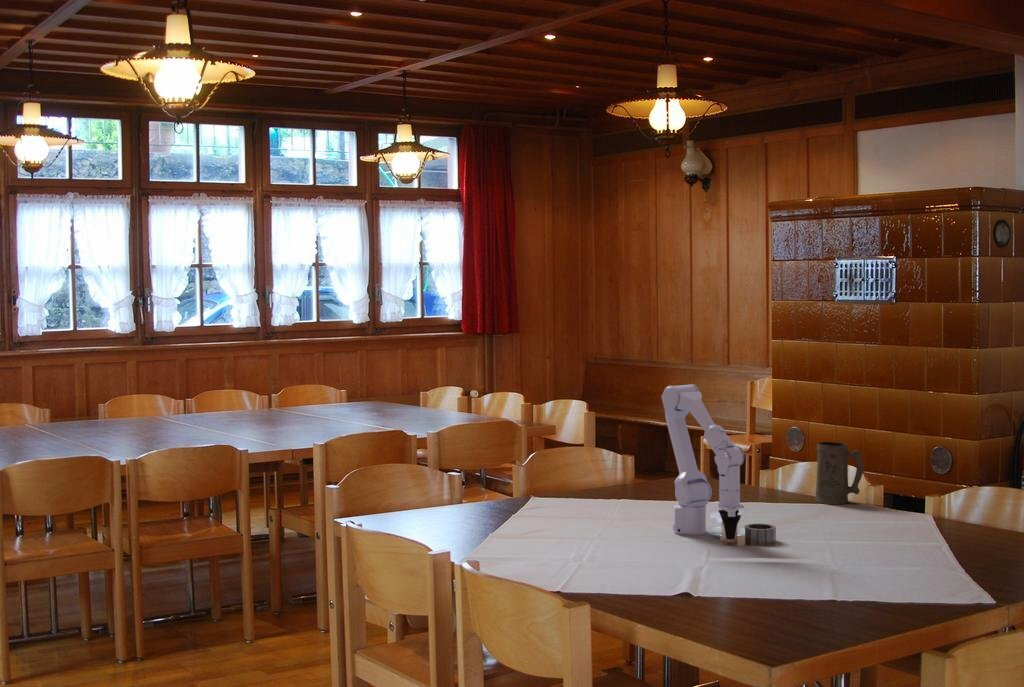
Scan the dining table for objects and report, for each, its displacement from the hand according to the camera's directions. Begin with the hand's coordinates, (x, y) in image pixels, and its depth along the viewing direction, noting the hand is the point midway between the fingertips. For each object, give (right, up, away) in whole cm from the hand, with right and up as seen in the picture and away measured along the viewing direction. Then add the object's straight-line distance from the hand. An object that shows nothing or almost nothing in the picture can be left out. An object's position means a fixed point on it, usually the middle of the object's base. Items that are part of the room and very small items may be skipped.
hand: (729, 537), depth 328 cm
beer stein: (+48, +1, +60) cm, 77 cm away
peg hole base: (+5, -2, 0) cm, 5 cm away
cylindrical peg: (0, -1, 0) cm, 1 cm away
